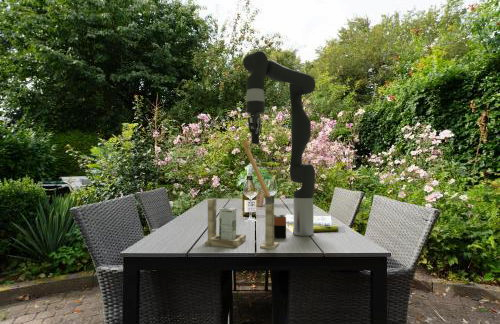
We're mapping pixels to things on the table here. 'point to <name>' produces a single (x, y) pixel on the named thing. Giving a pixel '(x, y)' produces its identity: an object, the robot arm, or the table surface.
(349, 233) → the table surface
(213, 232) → the clamp rig
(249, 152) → the tan wooden bar
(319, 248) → the table surface
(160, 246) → the table surface
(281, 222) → the battery
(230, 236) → the syrup box
